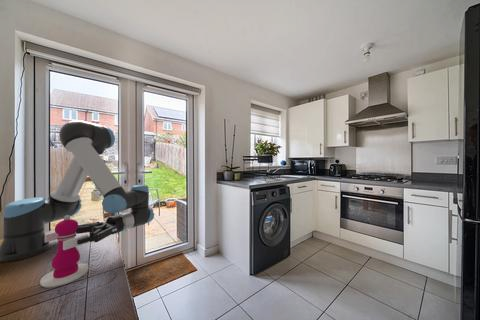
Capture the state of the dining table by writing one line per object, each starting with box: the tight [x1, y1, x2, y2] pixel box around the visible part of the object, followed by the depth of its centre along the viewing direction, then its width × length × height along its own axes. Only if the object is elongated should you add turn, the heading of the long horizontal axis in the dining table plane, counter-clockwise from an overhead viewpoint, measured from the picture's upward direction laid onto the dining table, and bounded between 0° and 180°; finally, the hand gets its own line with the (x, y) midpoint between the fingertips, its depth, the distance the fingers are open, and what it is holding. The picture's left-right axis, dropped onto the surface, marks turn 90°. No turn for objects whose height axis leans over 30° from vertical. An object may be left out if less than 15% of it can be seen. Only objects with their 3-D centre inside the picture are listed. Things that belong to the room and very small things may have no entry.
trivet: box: [39, 263, 89, 289], centre depth 63 cm, size 12×12×1 cm
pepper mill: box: [51, 215, 81, 278], centre depth 63 cm, size 7×7×20 cm
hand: (53, 241), depth 60 cm, fingers open, 13 cm apart
